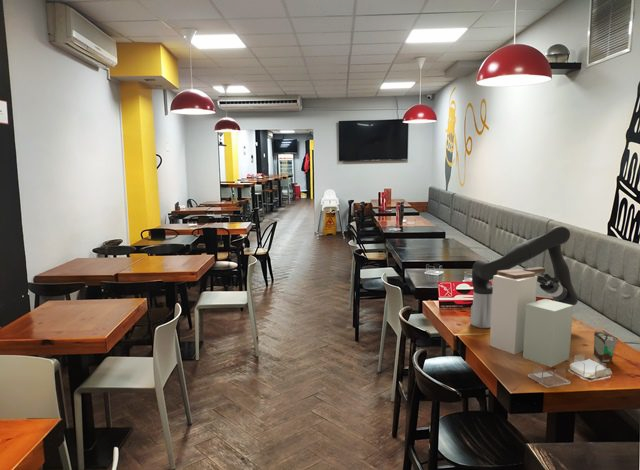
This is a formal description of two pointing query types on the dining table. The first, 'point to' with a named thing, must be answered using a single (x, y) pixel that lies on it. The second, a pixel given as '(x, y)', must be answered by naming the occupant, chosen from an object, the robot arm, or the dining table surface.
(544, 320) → the low stand
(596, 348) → the food container
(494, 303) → the tall stand
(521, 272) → the serving paddle
